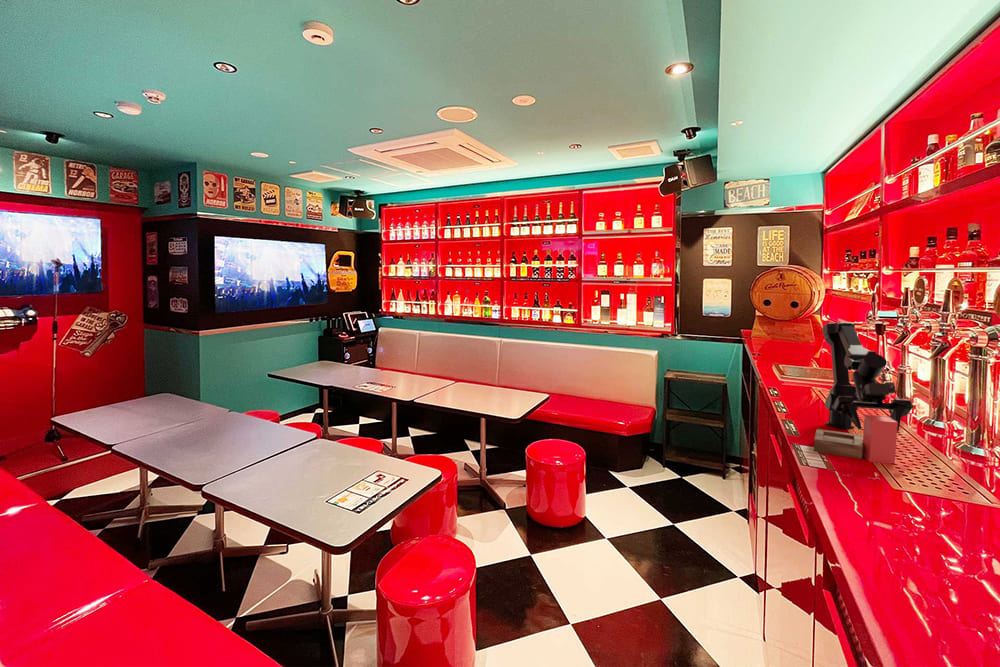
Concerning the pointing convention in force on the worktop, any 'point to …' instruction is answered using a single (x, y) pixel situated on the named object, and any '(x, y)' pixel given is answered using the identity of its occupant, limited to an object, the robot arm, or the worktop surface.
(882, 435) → the red brick
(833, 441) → the walnut base
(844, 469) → the worktop surface
